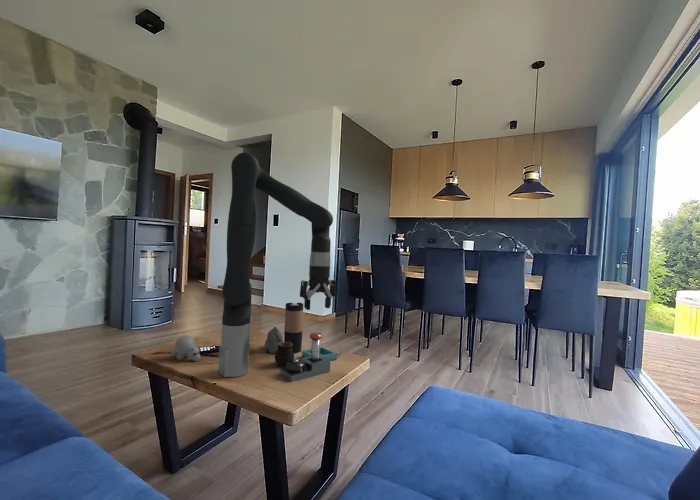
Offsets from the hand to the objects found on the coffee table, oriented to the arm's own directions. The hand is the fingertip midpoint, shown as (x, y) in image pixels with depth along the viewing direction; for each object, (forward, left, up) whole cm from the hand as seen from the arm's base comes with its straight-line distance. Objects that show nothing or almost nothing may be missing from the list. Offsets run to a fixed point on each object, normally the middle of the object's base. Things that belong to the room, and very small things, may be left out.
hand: (317, 308), depth 123 cm
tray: (+8, +9, -22) cm, 25 cm away
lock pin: (-1, -1, -22) cm, 22 cm away
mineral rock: (-1, +29, -23) cm, 36 cm away
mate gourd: (-7, +10, -22) cm, 25 cm away
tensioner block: (-5, -1, -22) cm, 23 cm away
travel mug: (+4, +23, -22) cm, 32 cm away
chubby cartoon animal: (-35, +35, -22) cm, 54 cm away
